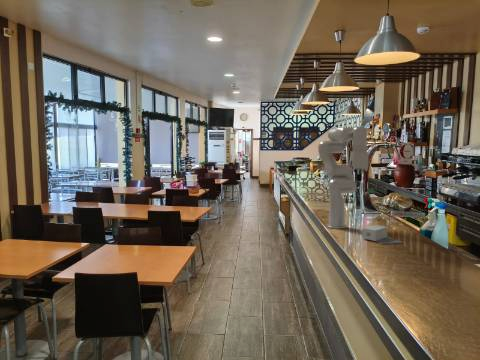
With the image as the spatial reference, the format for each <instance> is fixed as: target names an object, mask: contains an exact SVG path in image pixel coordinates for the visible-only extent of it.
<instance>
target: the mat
mask: <svg viewBox="0 0 480 360" xmlns="http://www.w3.org/2000/svg"><path fill="white" fill-rule="evenodd" d="M377 242H378V244H379V243H380V245H382V244H385V245H393V244H394V245H395V243H397V244H404V242H403V241H401V240H399V239H395V238H393V237H390V236H388V235H387V238H384V239H380V240H377V241H376V242H375V243H377Z"/></svg>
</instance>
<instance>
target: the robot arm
mask: <svg viewBox="0 0 480 360" xmlns="http://www.w3.org/2000/svg"><path fill="white" fill-rule="evenodd" d="M327 137H328V139H329V140H322V141H321V142H320V143H319V144H318V146H317V148H318V150H317V151H318V156H319V158H320V160H321V161H322V163H323V167H324V169H325V173H326V176H327V178H328V179H329V182H328V183H327V184H328V185H327V186H328V187H327V189H328V195H329V204H328V205H329V208H328V209H329V210H328V212H329V214H328V220H327V221H328V223H327V224H326V227H327V228H329V229H335V230H337V229H340V230H341V229H346V228H347V225H346V224H345V199H344V197H343V194H352V193H355V192H356V188H357V185H356V182H362V181H363V175H364V173H365V172H366V171H368V169H369V152H368V151H367V150H369V147H368V146H367V141H368V129H367V128H366V127H365V126H364V127H363V126H362V127H361V126H359V127H352V126H351V127H337V128H332V129H330V130H329V131H328V133H327ZM350 141H352V151H351V152H350V155H349V161H348V165H345V164H344V165H343V164H338V162H337V159H336V157H335V156H334V155H332V154H342V153H343V152H344V151H345V150H346V148H347V146H348V145H349V142H350ZM353 173H354V174H355V178H354V175H353ZM355 180H356V181H355Z"/></svg>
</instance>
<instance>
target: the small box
mask: <svg viewBox="0 0 480 360" xmlns="http://www.w3.org/2000/svg"><path fill="white" fill-rule="evenodd" d="M387 236H388V226H385V225H378V224H373V225H368V226H366V227H362V240H363V239H364V240H369V241H373V242H375V241H377V240H380V239H384V238H387Z"/></svg>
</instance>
